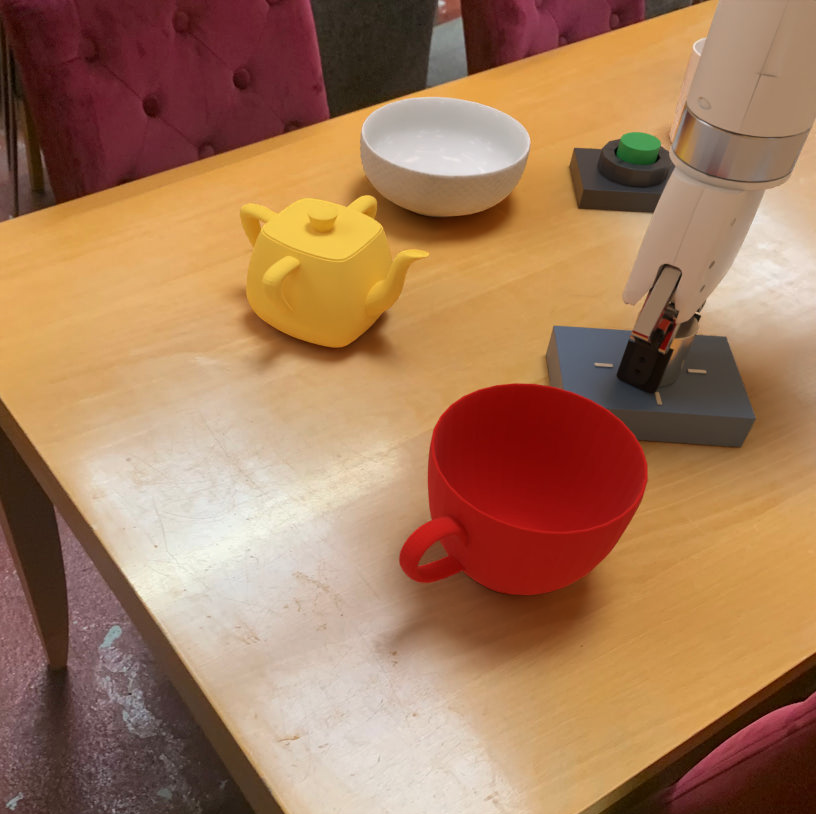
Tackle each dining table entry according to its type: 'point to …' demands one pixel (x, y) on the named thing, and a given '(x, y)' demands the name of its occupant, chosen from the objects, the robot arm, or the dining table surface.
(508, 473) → the ceramic cup
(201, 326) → the dining table surface
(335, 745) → the dining table surface
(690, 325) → the program dial
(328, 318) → the teapot
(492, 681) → the dining table surface
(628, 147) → the button
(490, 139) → the cereal bowl
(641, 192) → the button block
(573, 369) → the panel
